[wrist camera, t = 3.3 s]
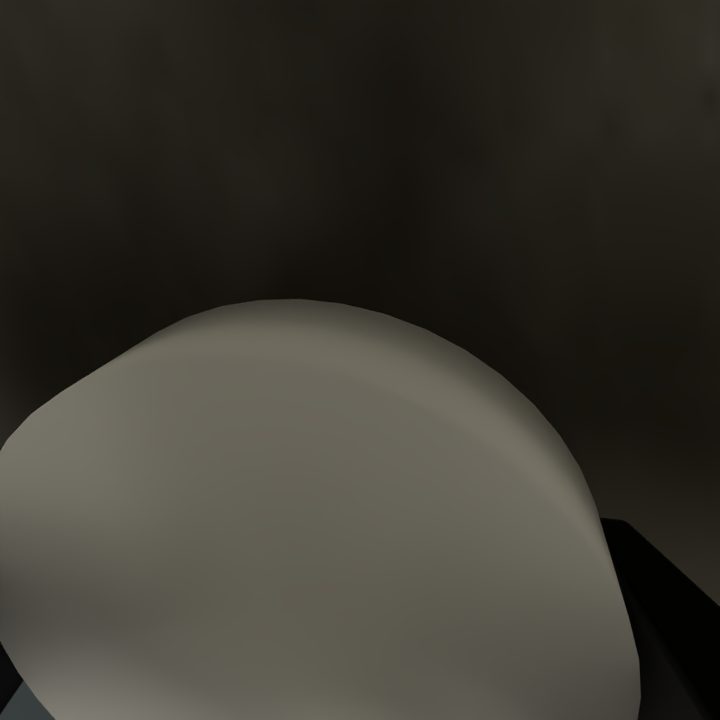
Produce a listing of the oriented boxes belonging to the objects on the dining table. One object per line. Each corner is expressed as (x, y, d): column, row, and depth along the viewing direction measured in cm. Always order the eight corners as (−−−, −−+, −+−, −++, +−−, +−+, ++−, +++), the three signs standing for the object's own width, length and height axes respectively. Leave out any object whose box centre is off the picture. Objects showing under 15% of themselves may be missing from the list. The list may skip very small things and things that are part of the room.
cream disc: (659, 313, 5) (728, 386, 4) (564, 783, 8) (582, 930, 6) (16, 286, 6) (-117, 331, 5) (124, 693, 9) (57, 798, 8)
